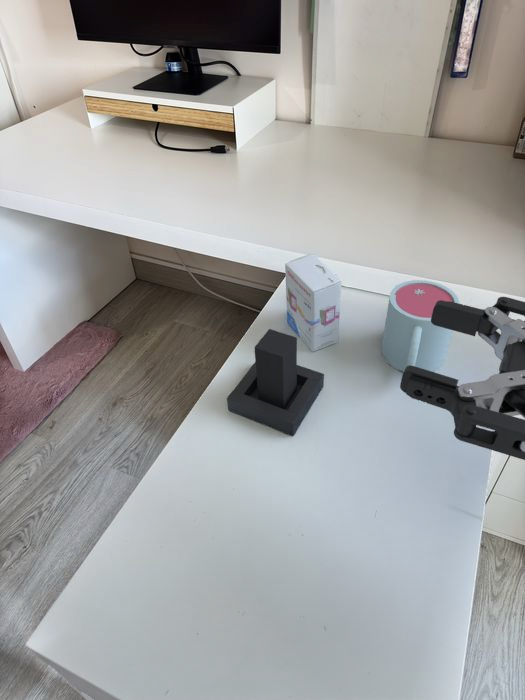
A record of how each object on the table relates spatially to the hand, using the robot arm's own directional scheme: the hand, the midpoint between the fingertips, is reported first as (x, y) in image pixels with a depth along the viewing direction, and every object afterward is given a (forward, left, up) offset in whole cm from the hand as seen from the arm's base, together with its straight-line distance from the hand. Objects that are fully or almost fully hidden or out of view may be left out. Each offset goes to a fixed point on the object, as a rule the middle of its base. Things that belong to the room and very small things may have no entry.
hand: (418, 342), depth 40 cm
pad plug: (+10, +18, -25) cm, 33 cm away
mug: (+25, +4, -26) cm, 36 cm away
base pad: (+10, +18, -26) cm, 33 cm away
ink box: (+25, +20, -26) cm, 41 cm away
